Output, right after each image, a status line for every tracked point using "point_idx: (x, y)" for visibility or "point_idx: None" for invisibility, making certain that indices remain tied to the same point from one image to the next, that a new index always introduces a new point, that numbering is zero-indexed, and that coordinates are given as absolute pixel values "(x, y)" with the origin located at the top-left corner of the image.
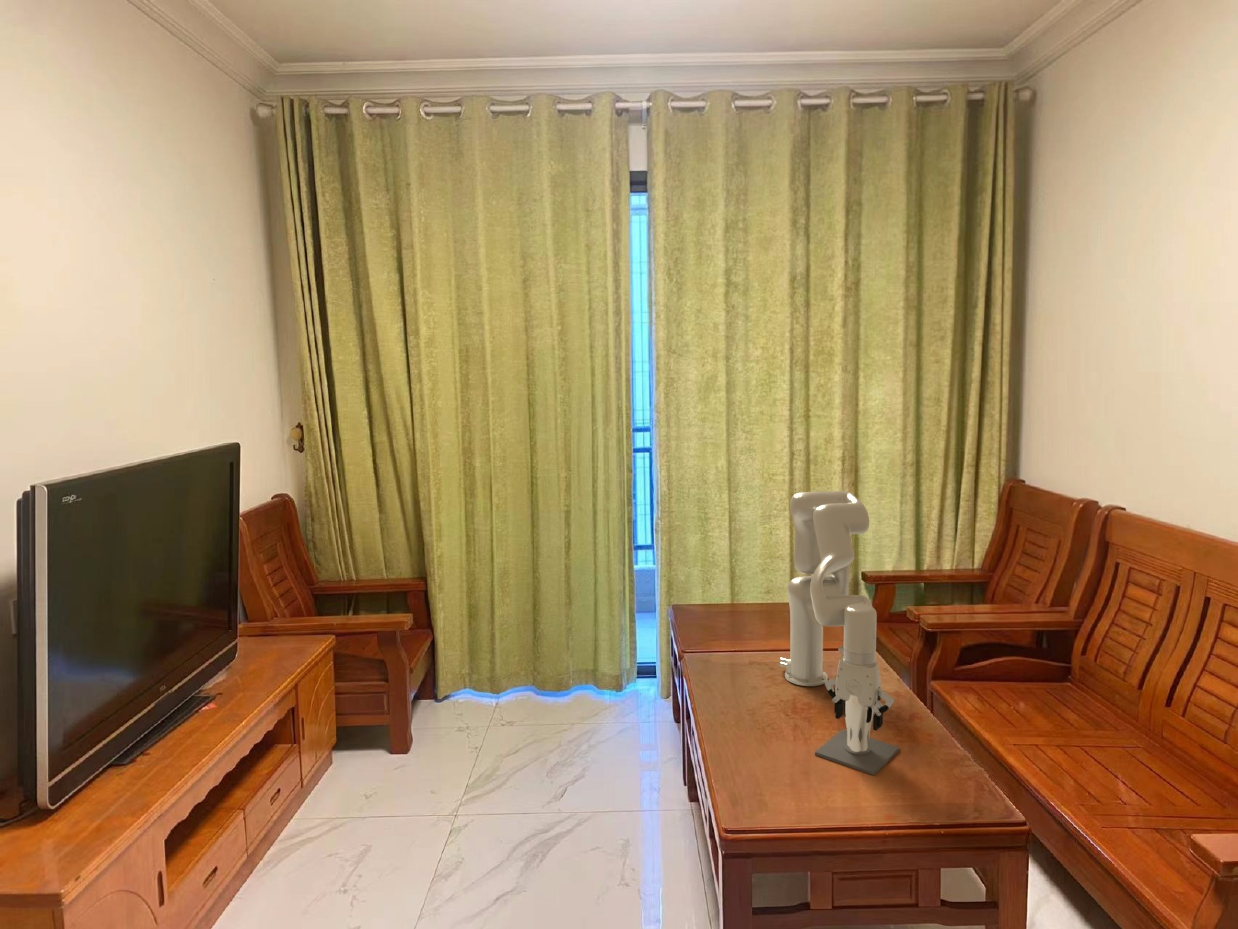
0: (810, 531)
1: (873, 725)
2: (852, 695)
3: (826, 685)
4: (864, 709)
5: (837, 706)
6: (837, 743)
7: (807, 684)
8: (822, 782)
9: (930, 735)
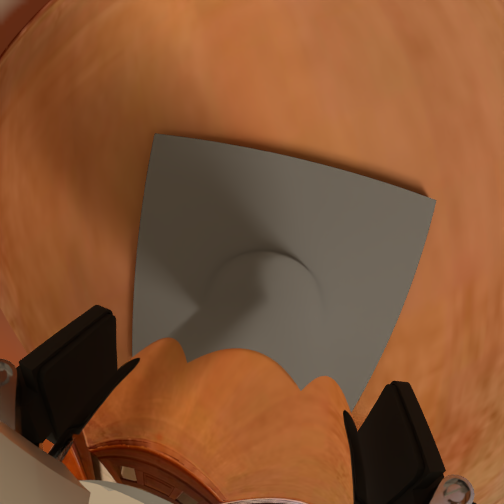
0: None
1: (93, 327)
2: None
3: None
4: (74, 425)
5: (424, 455)
6: (357, 318)
7: None
8: (336, 3)
9: None
